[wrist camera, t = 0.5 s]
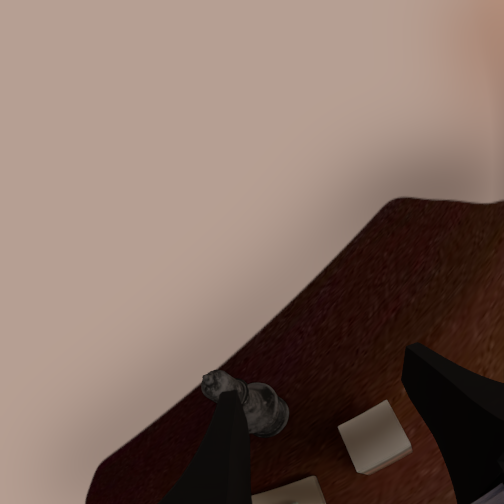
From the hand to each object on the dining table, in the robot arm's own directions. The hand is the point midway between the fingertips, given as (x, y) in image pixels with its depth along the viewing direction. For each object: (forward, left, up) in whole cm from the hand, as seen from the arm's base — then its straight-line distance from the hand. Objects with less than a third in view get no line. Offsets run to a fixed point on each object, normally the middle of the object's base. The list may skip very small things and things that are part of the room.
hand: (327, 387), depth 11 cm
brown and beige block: (0, 0, -19) cm, 19 cm away
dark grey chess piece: (+9, +10, -19) cm, 24 cm away
